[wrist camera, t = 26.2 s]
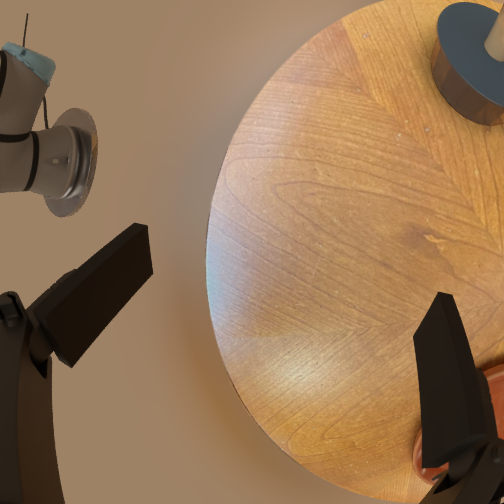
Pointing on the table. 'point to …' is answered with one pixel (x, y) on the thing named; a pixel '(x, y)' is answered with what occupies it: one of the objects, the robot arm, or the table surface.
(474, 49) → the lid
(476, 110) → the pot
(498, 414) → the saucer
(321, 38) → the table surface
